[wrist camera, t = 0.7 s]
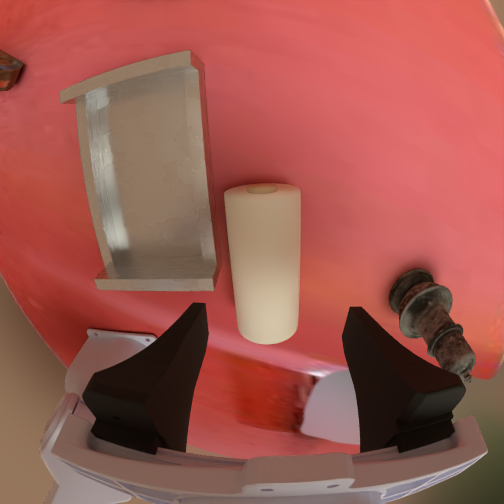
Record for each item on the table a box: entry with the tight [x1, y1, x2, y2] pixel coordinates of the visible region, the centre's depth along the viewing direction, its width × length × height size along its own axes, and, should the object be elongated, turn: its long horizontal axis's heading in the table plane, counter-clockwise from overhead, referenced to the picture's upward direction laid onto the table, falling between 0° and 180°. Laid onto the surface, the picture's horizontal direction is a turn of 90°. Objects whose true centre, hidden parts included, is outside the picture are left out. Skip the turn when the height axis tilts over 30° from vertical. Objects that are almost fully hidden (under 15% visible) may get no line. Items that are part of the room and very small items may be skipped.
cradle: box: [60, 50, 222, 291], centre depth 18 cm, size 10×16×4 cm, turn 3°
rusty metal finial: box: [389, 269, 476, 383], centre depth 18 cm, size 6×6×12 cm
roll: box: [224, 183, 301, 344], centre depth 20 cm, size 5×12×5 cm, turn 3°
